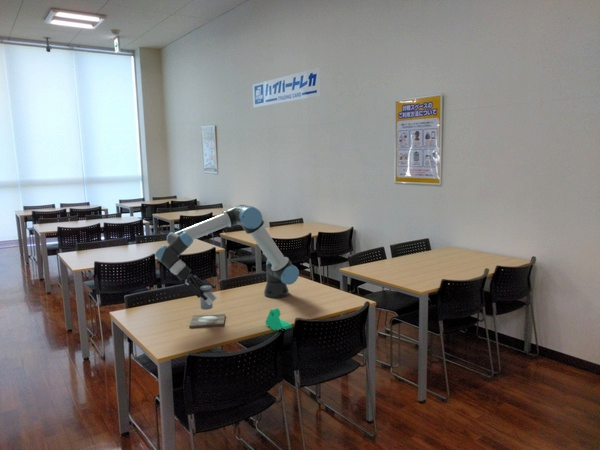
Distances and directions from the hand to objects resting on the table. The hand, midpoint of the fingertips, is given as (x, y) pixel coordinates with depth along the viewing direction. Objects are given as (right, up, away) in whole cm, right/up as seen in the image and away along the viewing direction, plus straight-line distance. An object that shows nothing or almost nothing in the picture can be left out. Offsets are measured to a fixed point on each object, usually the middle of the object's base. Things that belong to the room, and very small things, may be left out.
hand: (213, 301), depth 236 cm
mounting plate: (-3, -11, +2) cm, 12 cm away
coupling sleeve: (-4, -3, +1) cm, 5 cm away
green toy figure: (+34, -12, -7) cm, 37 cm away
